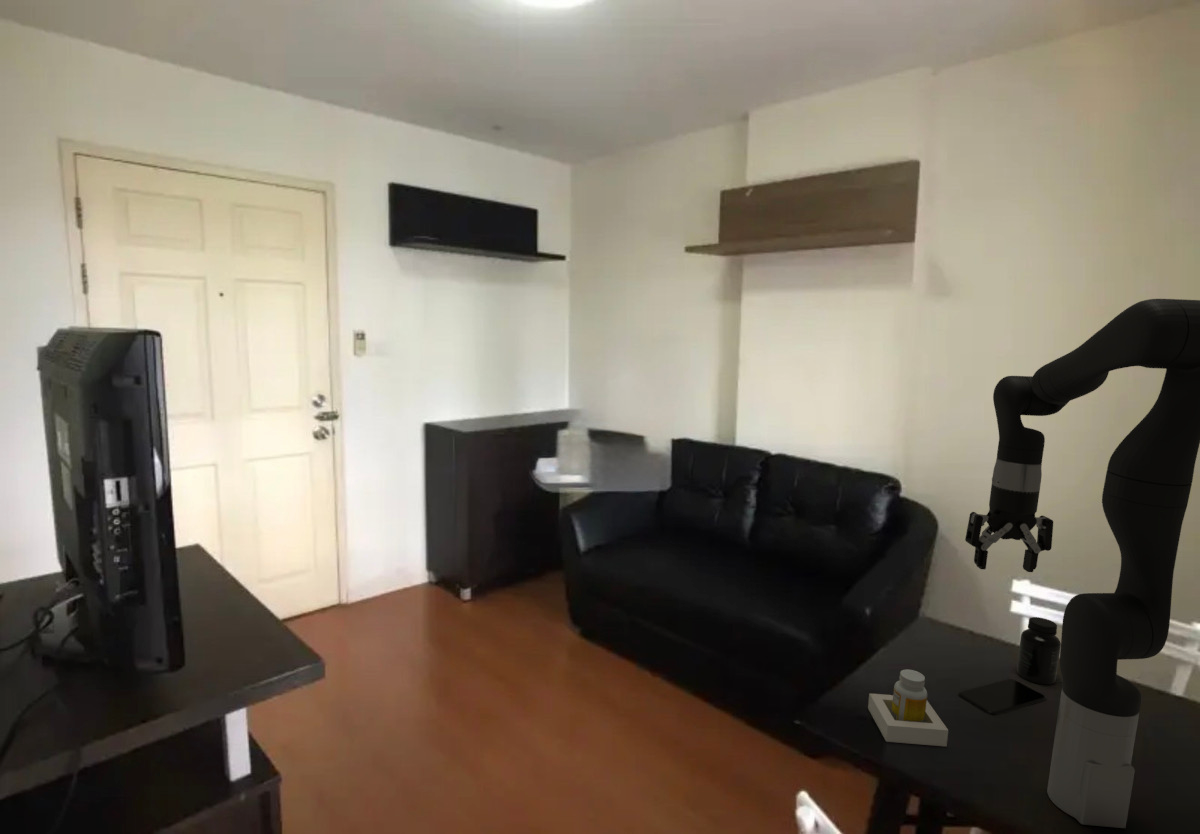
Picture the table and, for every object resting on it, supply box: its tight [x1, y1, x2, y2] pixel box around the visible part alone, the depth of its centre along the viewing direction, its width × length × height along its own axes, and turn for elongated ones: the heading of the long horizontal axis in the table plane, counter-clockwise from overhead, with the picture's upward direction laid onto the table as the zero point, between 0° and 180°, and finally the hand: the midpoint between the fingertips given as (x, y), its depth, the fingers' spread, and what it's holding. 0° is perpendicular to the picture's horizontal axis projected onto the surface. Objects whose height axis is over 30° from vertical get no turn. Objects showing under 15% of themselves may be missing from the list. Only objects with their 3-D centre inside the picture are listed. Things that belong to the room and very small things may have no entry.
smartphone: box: [957, 678, 1047, 716], centre depth 130 cm, size 8×1×16 cm
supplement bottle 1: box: [891, 669, 928, 723], centre depth 118 cm, size 5×5×10 cm
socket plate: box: [867, 693, 949, 748], centre depth 119 cm, size 10×10×3 cm
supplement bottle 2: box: [1016, 616, 1061, 686], centre depth 137 cm, size 7×7×12 cm
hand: (1004, 569), depth 124 cm, fingers open, 8 cm apart
